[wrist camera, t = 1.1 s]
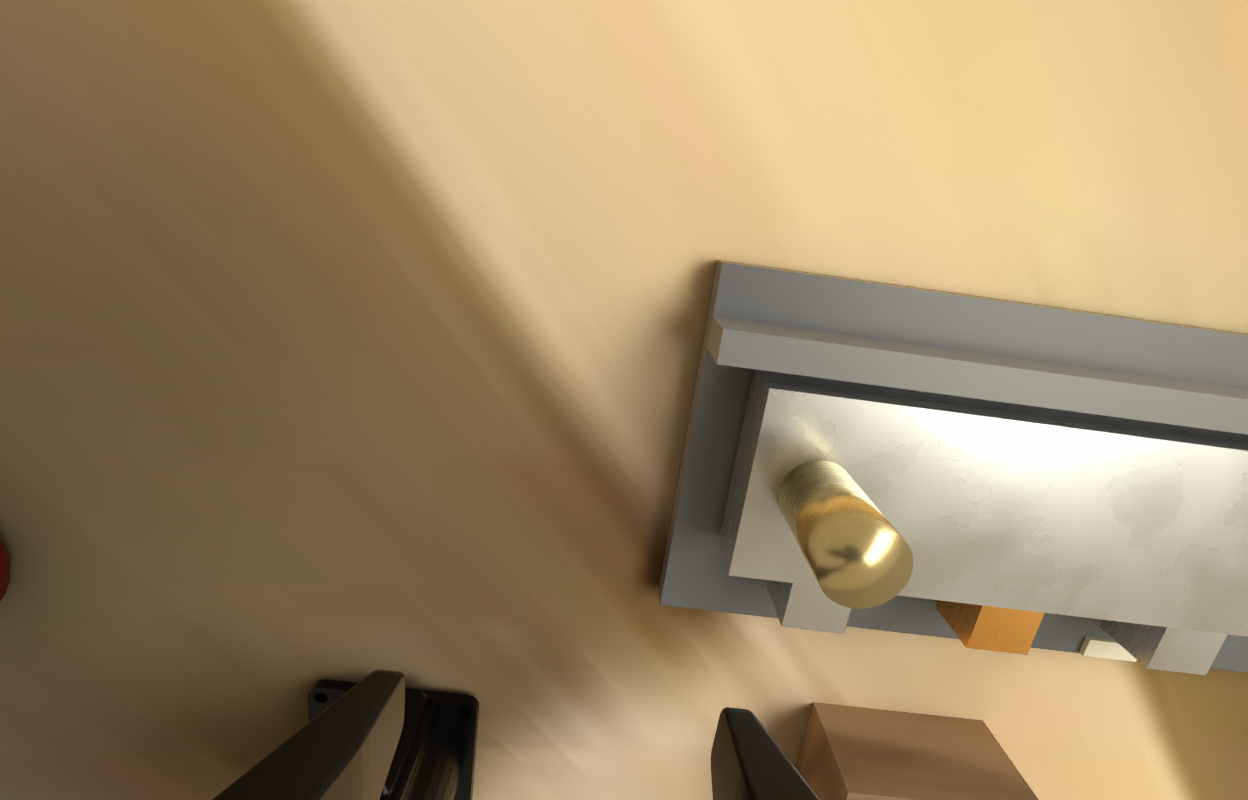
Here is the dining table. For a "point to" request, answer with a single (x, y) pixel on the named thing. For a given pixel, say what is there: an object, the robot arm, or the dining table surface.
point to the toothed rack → (990, 517)
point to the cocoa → (4, 570)
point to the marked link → (904, 757)
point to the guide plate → (935, 363)
